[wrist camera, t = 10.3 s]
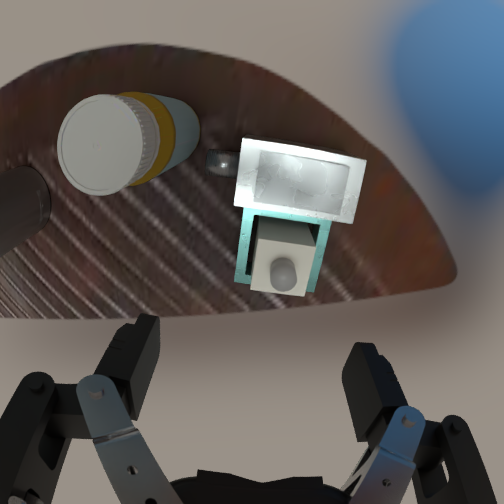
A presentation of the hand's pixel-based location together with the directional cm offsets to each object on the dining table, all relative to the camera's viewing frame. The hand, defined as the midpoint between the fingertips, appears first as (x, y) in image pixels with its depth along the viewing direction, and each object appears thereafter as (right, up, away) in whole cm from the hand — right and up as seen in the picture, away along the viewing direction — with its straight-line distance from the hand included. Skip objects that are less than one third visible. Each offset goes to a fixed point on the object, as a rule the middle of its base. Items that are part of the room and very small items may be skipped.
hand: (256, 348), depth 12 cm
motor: (+2, +8, +20) cm, 22 cm away
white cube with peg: (+3, +5, +22) cm, 23 cm away
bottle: (-9, +16, +17) cm, 25 cm away
